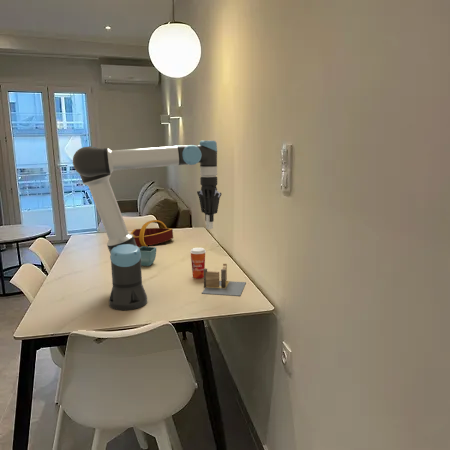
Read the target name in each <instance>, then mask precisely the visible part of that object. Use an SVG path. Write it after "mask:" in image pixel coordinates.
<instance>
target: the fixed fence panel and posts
mask: <svg viewBox="0 0 450 450" xmlns="http://www.w3.org/2000/svg"><path fill="white" fill-rule="evenodd" d="M220 277H221V278H220ZM219 281H221V288H225V287H226V281H227V280H226V270H225V269H223V268H222V269H221V270H220V271H213V270H212V271H211V270H208V268H205V269H204V278H203V288H205V287H219Z"/></svg>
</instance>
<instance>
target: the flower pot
mask: <svg viewBox="0 0 450 450" xmlns="http://www.w3.org/2000/svg"><path fill="white" fill-rule="evenodd" d="M139 249H140V252H141V267H143V266H144V267H150V266H151V265H152V264H154V262H155V260H156V256H157V247H155V246H153V247H152V246H148V247H147V246H139Z"/></svg>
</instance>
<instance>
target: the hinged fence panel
mask: <svg viewBox="0 0 450 450" xmlns="http://www.w3.org/2000/svg"><path fill="white" fill-rule="evenodd" d="M222 264H223V265H222V269H225V270H226V281H228V280H227V279H228V269H227V268H228V267H227V266H228V265H227V263H222Z"/></svg>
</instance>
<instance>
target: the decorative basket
mask: <svg viewBox="0 0 450 450" xmlns="http://www.w3.org/2000/svg"><path fill="white" fill-rule="evenodd" d="M152 223H154V224H157V225H159V226H160V227H149V228H147V227H148V225H150V224H152ZM173 230H174V229H173V228H169V227H167V225H166V224H165V223H164V222H163V221H162V220H158V219H151V220H149V221H146V222H145V223H144V224H143V225H142V226H141V228H134V229H133V230H132V231H131V232H129V233H130V234H132V235H133V237H134V239H135V242H136V245H137V246H138V247H149V246H152V245H158V244H160V243H161V244H162V243H165V242H168V241H170V240H172V239H174V232H173ZM148 245H149V246H148Z"/></svg>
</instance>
